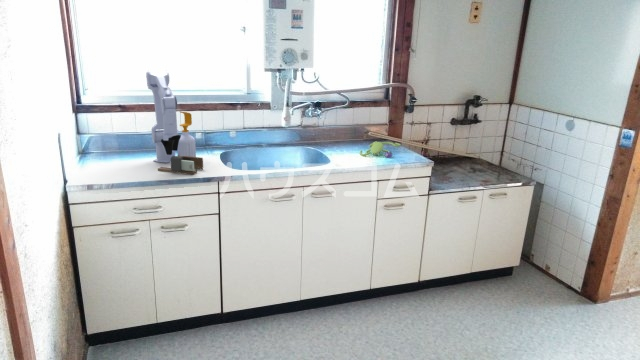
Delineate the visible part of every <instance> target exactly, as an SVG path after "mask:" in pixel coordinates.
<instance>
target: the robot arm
mask: <svg viewBox="0 0 640 360" xmlns="http://www.w3.org/2000/svg"><path fill="white" fill-rule="evenodd" d="M146 83H147V84H146V85H147V88H148V90H150V91H151V92H152V95H153V103H154V112H155V119H156V120H155V121H156V124H155V125H153V126H152V128H151V141H152V142H153V144H155V150H156V151H155V152H156V159H154V160H153V161H152V162H157V163H165V164H168V163H171V157H172V156H176V151H177V149H178V143H179V140H180V137H181V135H182V134H179V129H178V121H177V109H178V99H177V97H176V95H174V94H173V92H172V89H171V87H169V85H170V75H169V72H168V71H167V70H165V71H163V70H162V71H161V70H159V71H158V70H156V71H155V70H154V71H151V70H150V71H149V70H148V71H146Z"/></svg>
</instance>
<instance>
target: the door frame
mask: <svg viewBox="0 0 640 360" xmlns="http://www.w3.org/2000/svg"><path fill="white" fill-rule="evenodd" d="M177 156H181V155H178V154H177ZM182 158H183V160H187V161H194V171H186V170H181V171H171V167H165V166H160V167H159V168H157V171H159V172H167V173H176V174H184V175H192V176H193V175H195V174H198V172H197V170H204V159H203V157H200V156H199V157H198V156H196V157H190V156H182ZM195 169H196V170H195Z"/></svg>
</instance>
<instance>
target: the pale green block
mask: <svg viewBox="0 0 640 360" xmlns="http://www.w3.org/2000/svg"><path fill="white" fill-rule="evenodd" d="M181 170H186V171H195V169H194V161H187V160H181Z"/></svg>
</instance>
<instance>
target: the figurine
mask: <svg viewBox="0 0 640 360" xmlns="http://www.w3.org/2000/svg"><path fill="white" fill-rule="evenodd" d="M384 145H391V146H393V147H395V148H398V147H401V145H402V144H401V143H398V142H395V143H394V142H389V141H387V142H386V141H384V142H381V141H378V140H377V141H374V142H372V143H370V144H369V147H370V148H369V149H367V150H366V151H365V153H363V150H361V149H360V151H359V155H360V156H361V157H366V156H369V155H371V154H372V156H375V155H376V156H380V153H381V152H383V153H384V156H385V158H388V159H389V158H391V157H392V156H393V152H392V151H389V150H386V149H383V148H384Z"/></svg>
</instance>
